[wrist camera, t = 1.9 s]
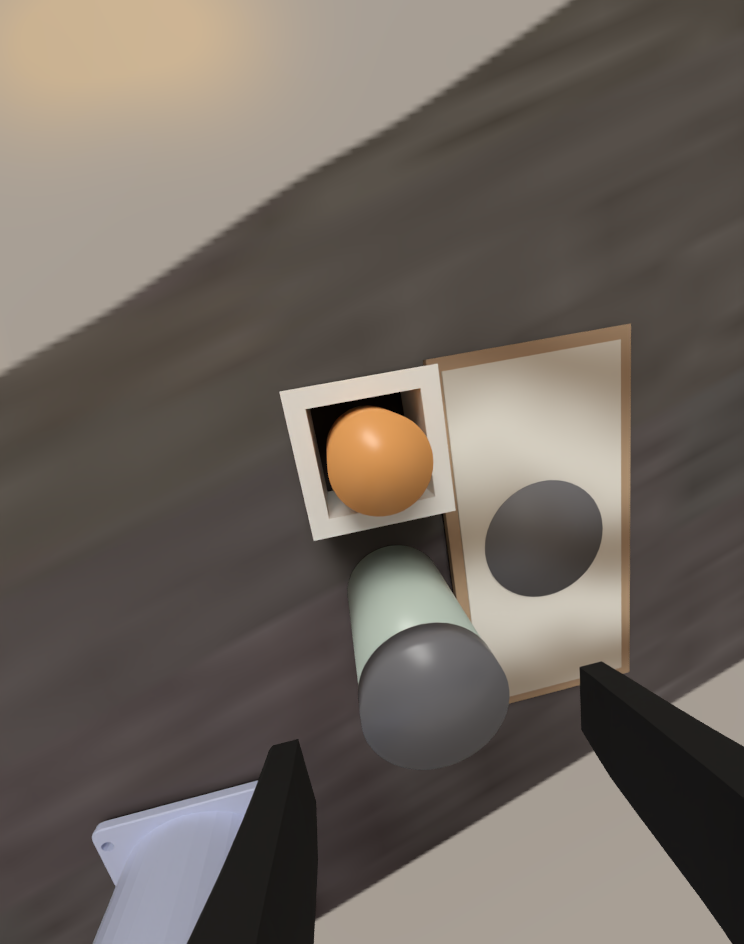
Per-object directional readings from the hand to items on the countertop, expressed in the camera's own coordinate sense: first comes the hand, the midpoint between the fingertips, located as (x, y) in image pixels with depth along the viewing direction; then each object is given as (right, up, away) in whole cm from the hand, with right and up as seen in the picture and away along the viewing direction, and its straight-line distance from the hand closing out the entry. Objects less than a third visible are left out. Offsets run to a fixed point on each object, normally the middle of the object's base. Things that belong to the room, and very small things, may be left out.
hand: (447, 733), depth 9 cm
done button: (-2, +7, +3) cm, 8 cm away
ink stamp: (-1, +2, +7) cm, 7 cm away
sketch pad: (+5, +4, +7) cm, 9 cm away
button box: (-2, +8, +5) cm, 9 cm away
